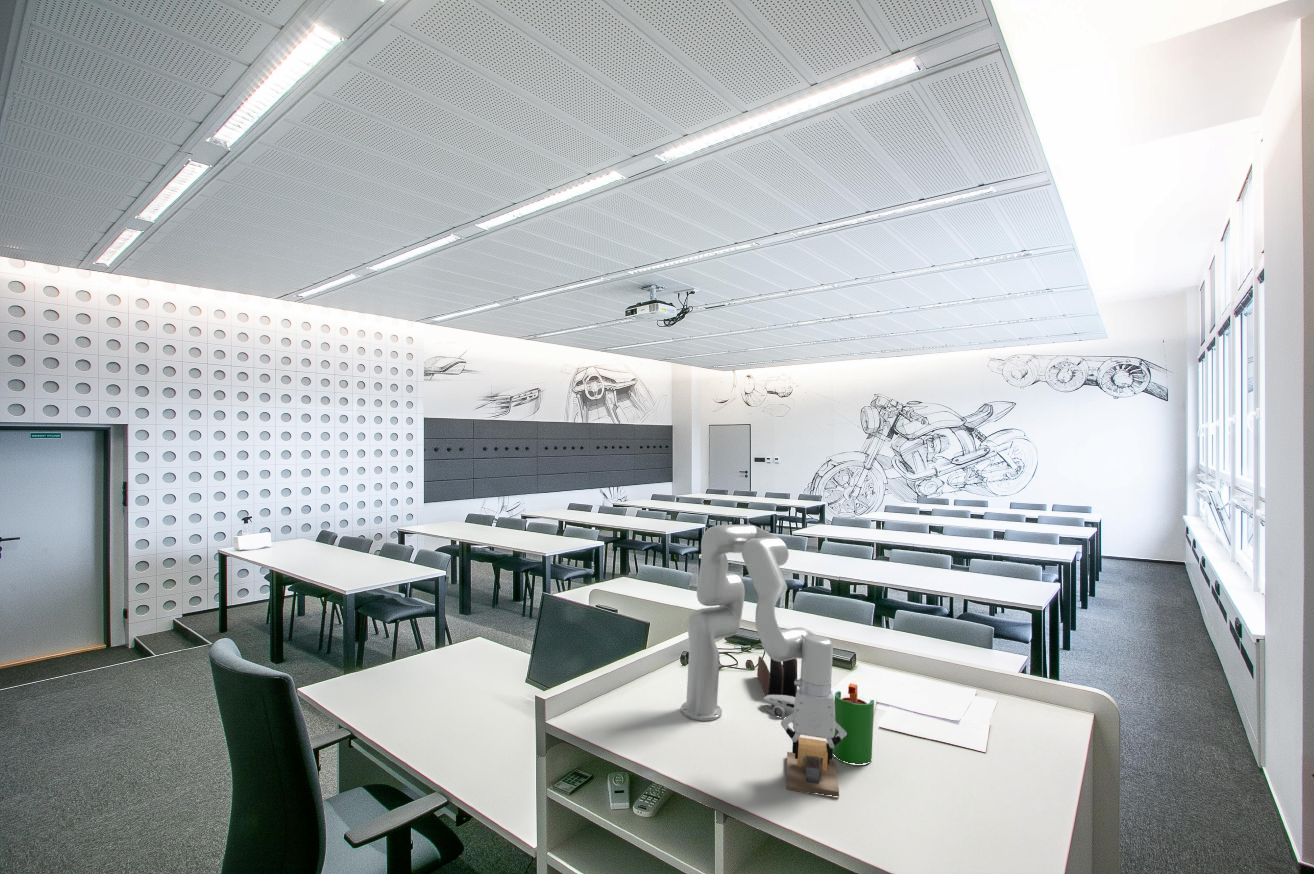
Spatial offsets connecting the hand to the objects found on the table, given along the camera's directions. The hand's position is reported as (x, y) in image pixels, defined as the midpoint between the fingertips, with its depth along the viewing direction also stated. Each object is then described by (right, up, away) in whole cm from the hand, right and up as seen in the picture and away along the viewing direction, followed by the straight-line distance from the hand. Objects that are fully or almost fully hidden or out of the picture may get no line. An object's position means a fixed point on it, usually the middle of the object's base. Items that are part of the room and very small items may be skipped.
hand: (811, 758), depth 150 cm
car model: (+6, -7, +35) cm, 36 cm away
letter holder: (+2, -7, +58) cm, 58 cm away
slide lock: (0, -1, 0) cm, 1 cm away
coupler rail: (0, -3, 0) cm, 3 cm away
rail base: (0, -4, 0) cm, 4 cm away
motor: (+14, -6, +11) cm, 18 cm away
